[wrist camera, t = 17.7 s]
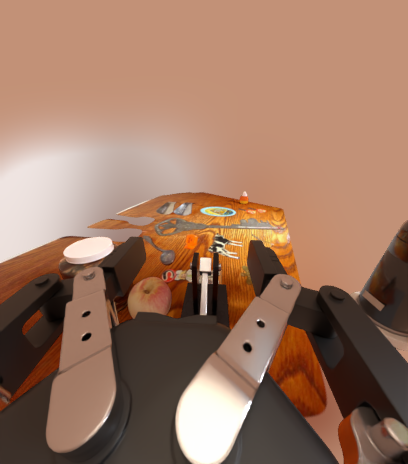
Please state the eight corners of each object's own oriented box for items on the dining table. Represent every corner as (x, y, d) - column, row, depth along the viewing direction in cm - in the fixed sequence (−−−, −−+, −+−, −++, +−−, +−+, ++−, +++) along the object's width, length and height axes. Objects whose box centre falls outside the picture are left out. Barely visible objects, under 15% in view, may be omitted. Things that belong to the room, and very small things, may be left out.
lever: (212, 337, 27) (212, 337, 24) (193, 335, 27) (191, 335, 24) (213, 263, 34) (213, 257, 31) (198, 262, 34) (197, 256, 31)
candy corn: (238, 203, 108) (240, 191, 104) (239, 202, 111) (240, 190, 107) (248, 204, 107) (249, 192, 103) (248, 203, 109) (249, 191, 106)
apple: (160, 291, 42) (156, 266, 38) (180, 314, 36) (178, 287, 32) (126, 312, 36) (117, 286, 33) (143, 342, 31) (135, 315, 27)
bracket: (229, 335, 32) (235, 283, 25) (179, 332, 32) (172, 280, 26) (225, 288, 42) (229, 243, 36) (187, 287, 43) (185, 242, 37)
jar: (125, 274, 47) (111, 228, 41) (141, 298, 40) (128, 247, 33) (76, 296, 40) (50, 245, 34) (84, 331, 33) (52, 273, 26)
